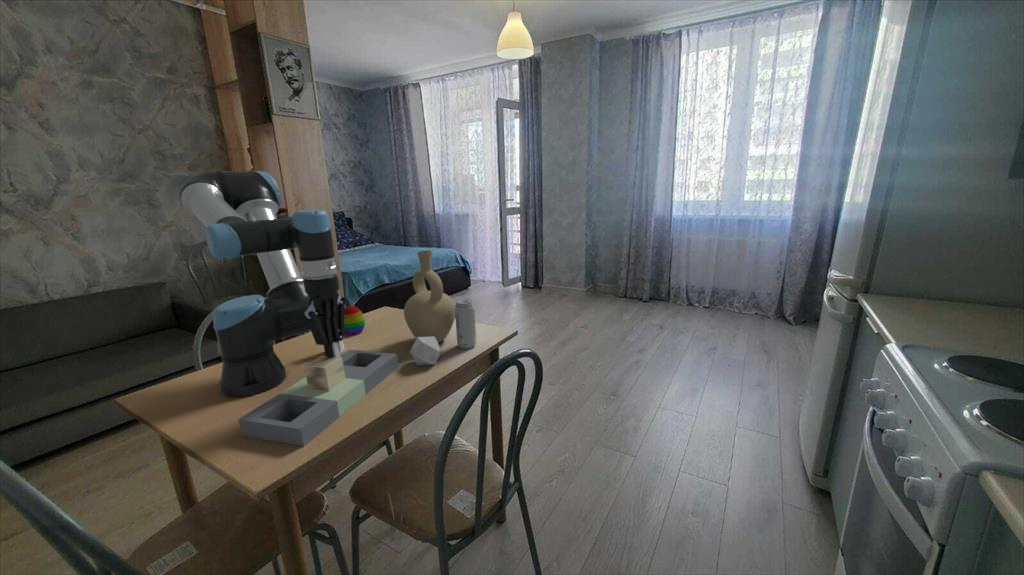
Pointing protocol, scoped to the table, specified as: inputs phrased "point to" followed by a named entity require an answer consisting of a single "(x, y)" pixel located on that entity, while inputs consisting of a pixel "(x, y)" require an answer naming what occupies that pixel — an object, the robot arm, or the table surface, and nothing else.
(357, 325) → the decorative egg
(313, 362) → the birch block
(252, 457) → the table surface
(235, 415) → the table surface
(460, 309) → the energy drink can
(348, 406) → the board
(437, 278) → the vase
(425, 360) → the die
